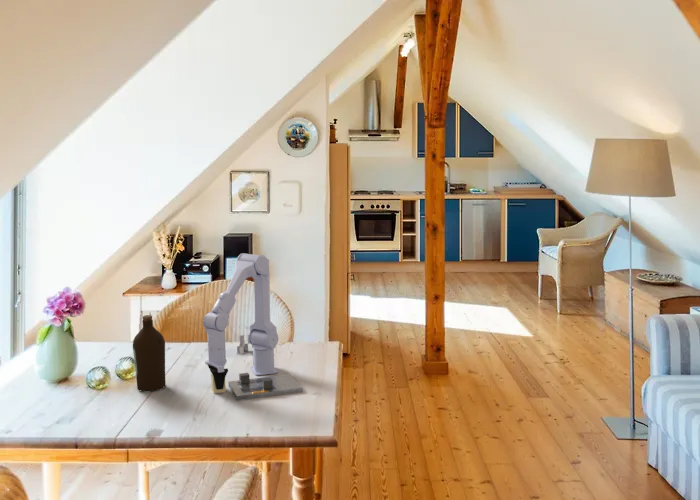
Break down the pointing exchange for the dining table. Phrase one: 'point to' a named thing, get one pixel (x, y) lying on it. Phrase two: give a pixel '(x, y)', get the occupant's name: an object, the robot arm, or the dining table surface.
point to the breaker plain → (244, 378)
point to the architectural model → (242, 345)
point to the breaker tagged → (267, 383)
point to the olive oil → (149, 357)
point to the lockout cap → (215, 386)
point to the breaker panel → (255, 389)
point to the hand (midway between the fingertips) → (218, 386)
